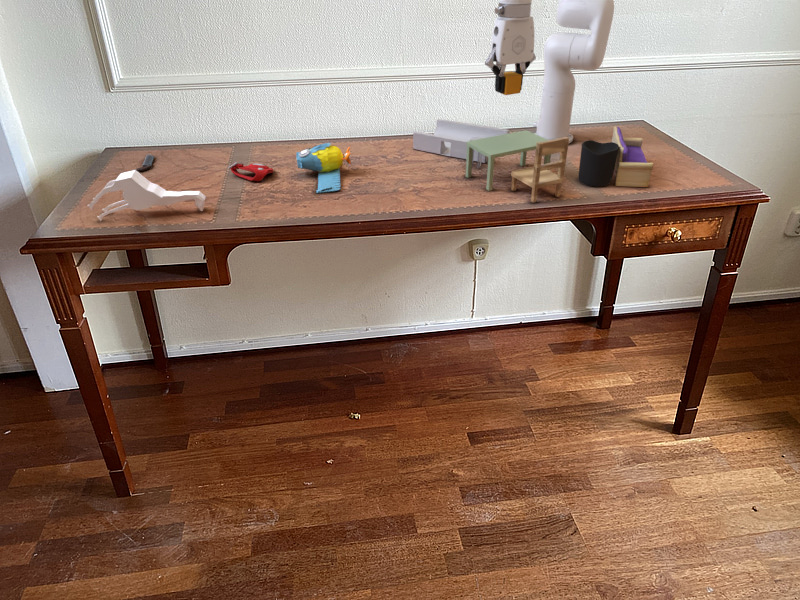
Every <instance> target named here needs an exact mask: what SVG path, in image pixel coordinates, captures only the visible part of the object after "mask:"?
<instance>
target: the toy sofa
mask: <svg viewBox="0 0 800 600" xmlns="http://www.w3.org/2000/svg"><path fill="white" fill-rule="evenodd" d="M610 142H613V143H616V144H618V145H619V150H618V155H617V159H616V164H615V168H614V170H615V173H616V177H615V182H614V183H615V184H614V186H615V187H630V188H631V187H634V188H648V187H649V186H650V185H649V184H650V181H651V175H652V170H653V168H654V163H653V162H648V161H647V159H646V156H645V153H644V151H643V149H642V145H643V142H644V141H643V138H642V137H624V135H623V132H622V129H621V128H620V127H619V126H613V130H612V138H611V141H610Z"/></svg>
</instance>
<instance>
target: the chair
mask: <svg viewBox="0 0 800 600" xmlns="http://www.w3.org/2000/svg"><path fill="white" fill-rule="evenodd" d="M568 143H569V138H568V137H563V138H558V139H553V140H548V141H543V142H538V143H537V144H536V149H535V155H534V163H533V166H531V167H525V168H521V169H517V170H512V171H511V174H510V176H511V186H510V191H512V192H515V191H517V187H518V181H520V182H521V183H523V184H525V185H526V186H529V187H530V188H532V189H531V196H530V203H533V204H534V203H537V199H538V191H539V189H540V188H545V187H550V186H553V185H555V190H554V197H556V198H559V197H561V191H562V186H563V185H562V183H564V180H565V179H564V178H565V172H566V166H567V165H566V163H567V157H568V151H569V144H570V143H569V144H568ZM557 153H559V159H558V160H557V161H556V160H555V161H552V162H551V161H550V163H546V164H544V163H542V160H543V157H544V156H545V155H549V154H551V155H553V154H557ZM556 168H558V169H557V173H555V172H553V171H551V170H553V169H556ZM548 169H549V170H548Z"/></svg>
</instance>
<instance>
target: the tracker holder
mask: <svg viewBox="0 0 800 600" xmlns="http://www.w3.org/2000/svg"><path fill="white" fill-rule="evenodd" d="M228 169H230V171H231V173H232V174H234V175H235V176H237V177H239V178H242V179H245V180H248V181H251V182H252V181H253V182H261V181H262V180H263V179H264V178H265V177H266V176H267V175H268V174H273V173H274V168H271V167H269V166H268V165H266V164H262V163H250V164H248V165H245V163H244V162H239V161H236V162H234V163H232V164H231V165H230V166H228ZM238 170H241V171H242V170H243V171H247V172H251V173H254V174H255V175H254V176H253V177H252V176H249V175H246V174H243V173H241V172H240V171H238Z"/></svg>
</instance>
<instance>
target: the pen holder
mask: <svg viewBox="0 0 800 600" xmlns="http://www.w3.org/2000/svg"><path fill="white" fill-rule="evenodd" d="M618 150H619V145H618V144H616V143H613V142H611V141H610V142H609V141H608V142H598V141H596V140H593V139H588V140H584V141H582V142H581V149H580V157H579V167H578V178H577V179H578V181H579V182H580V183H581V184H582V185H585V186H586V187H594V188H601V187H602V188H603V187H606V186H608V185H610V184H612V180H613V176H614V172H615V164H616V159H617V155H618Z"/></svg>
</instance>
